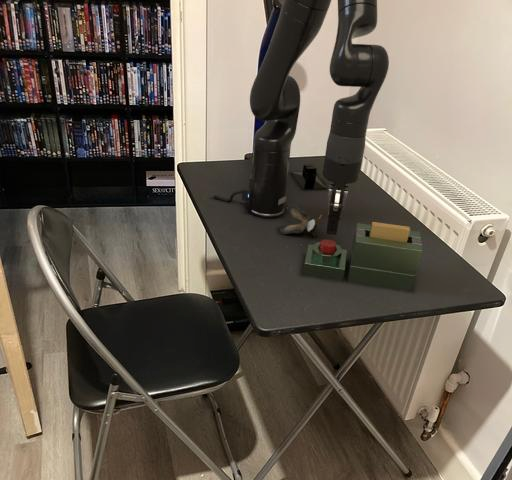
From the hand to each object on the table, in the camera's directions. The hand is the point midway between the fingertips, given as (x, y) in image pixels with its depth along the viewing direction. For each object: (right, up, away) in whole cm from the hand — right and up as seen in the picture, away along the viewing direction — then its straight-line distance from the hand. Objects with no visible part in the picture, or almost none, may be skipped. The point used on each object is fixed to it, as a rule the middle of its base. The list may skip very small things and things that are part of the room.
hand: (331, 232), depth 125 cm
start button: (-1, -3, +3) cm, 4 cm away
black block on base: (-1, +24, +45) cm, 51 cm away
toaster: (+11, -9, +4) cm, 15 cm away
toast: (+12, -6, +2) cm, 13 cm away
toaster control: (-1, -7, +5) cm, 9 cm away
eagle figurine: (-6, +3, +18) cm, 20 cm away
